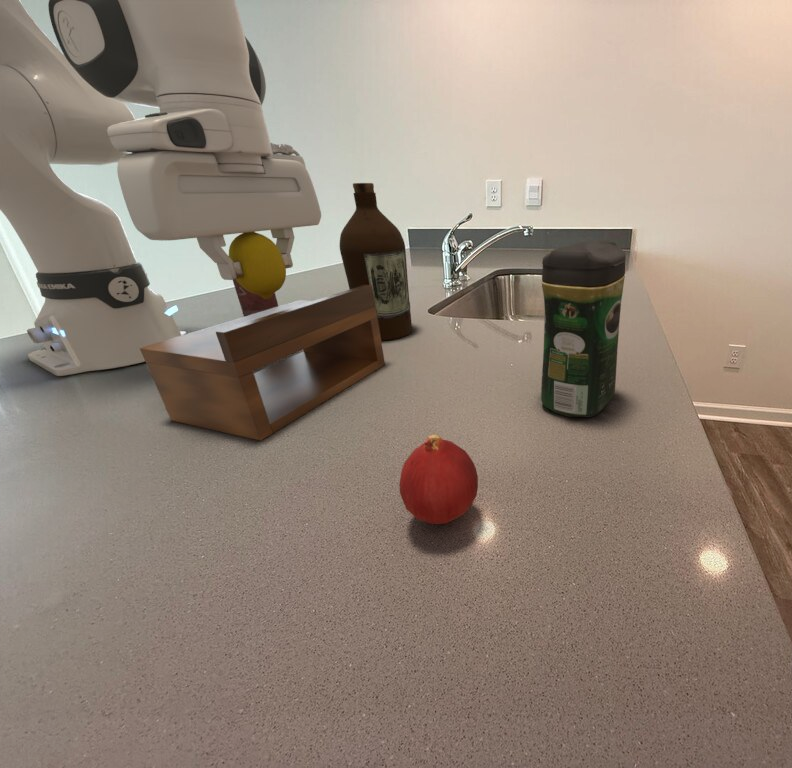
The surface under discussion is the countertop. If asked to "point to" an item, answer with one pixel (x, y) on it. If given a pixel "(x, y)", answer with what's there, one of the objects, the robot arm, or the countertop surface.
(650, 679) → the countertop surface
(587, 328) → the coffee jar
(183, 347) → the shelf
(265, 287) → the lemon
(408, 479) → the onion
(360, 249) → the olive oil
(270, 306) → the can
